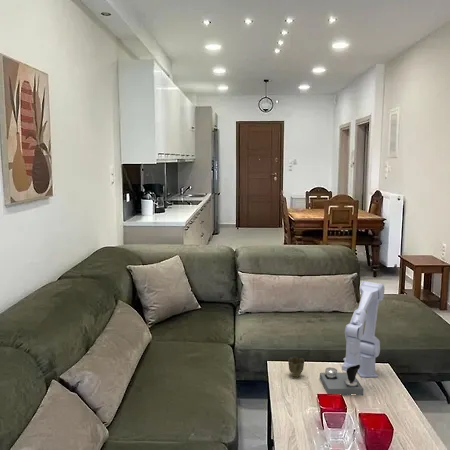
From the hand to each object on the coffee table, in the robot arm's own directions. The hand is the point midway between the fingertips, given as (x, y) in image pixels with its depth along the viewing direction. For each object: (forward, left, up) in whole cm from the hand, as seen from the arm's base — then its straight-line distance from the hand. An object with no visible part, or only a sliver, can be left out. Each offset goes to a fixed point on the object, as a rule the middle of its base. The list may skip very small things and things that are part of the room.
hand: (351, 380), depth 204 cm
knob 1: (-7, -7, -2) cm, 10 cm away
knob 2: (0, 0, -4) cm, 4 cm away
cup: (-14, -22, -5) cm, 26 cm away
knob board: (-3, -4, -5) cm, 7 cm away
